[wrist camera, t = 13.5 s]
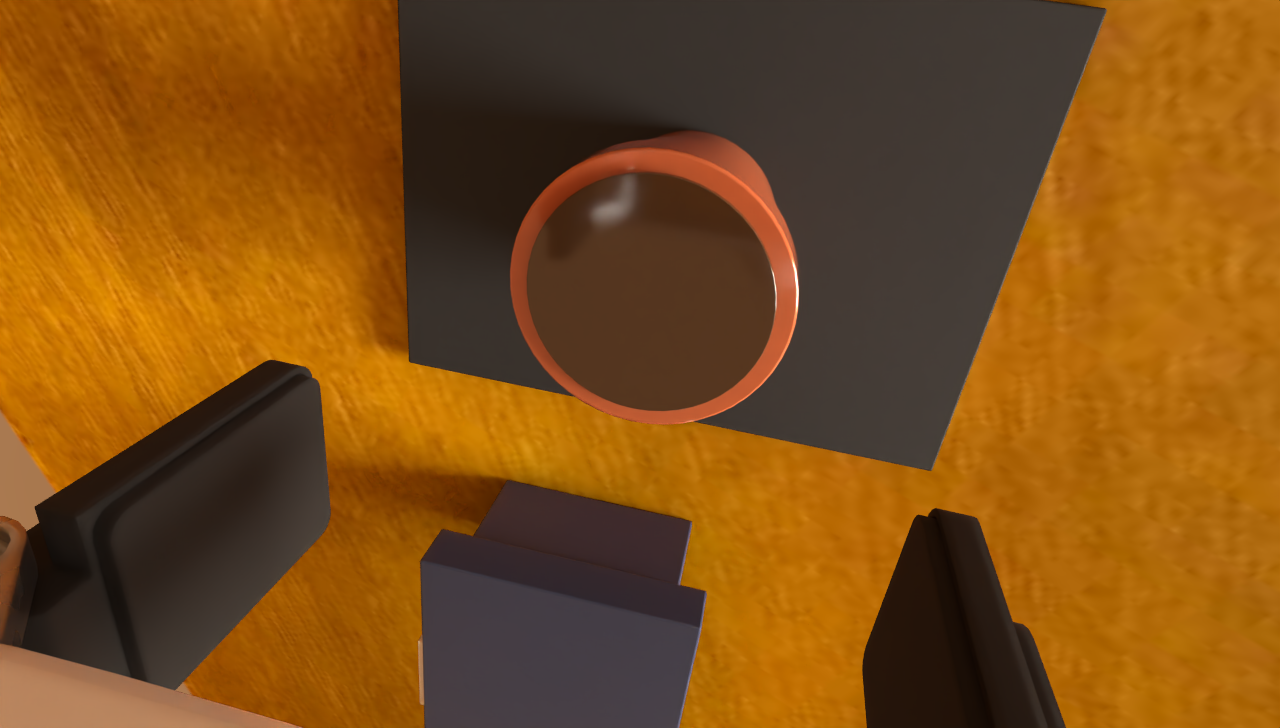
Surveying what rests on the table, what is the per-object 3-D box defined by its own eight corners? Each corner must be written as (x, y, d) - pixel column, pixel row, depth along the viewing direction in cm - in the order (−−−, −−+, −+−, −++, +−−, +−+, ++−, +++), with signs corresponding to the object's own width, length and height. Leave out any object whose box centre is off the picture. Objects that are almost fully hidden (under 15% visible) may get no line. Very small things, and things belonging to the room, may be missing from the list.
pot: (822, 125, 22) (832, 178, 15) (773, 336, 25) (765, 453, 18) (594, 89, 22) (512, 125, 16) (576, 298, 26) (502, 398, 19)
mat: (1100, 8, 19) (1108, 8, 19) (929, 462, 26) (931, 471, 26) (404, -84, 22) (394, -86, 21) (415, 355, 29) (408, 362, 28)
